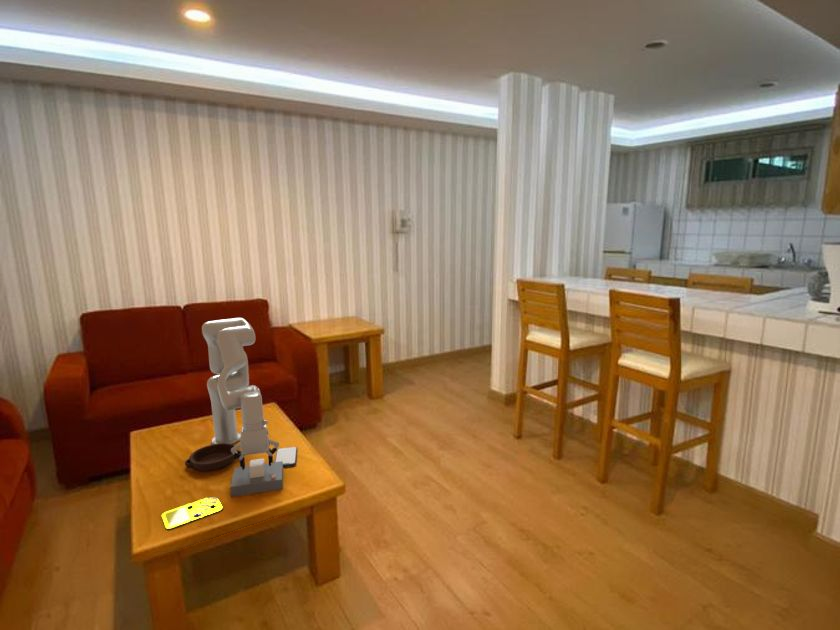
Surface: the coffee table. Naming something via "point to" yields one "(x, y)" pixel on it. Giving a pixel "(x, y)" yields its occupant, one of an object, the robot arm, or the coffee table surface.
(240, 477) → the socket
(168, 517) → the game console
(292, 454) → the smartphone
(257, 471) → the plug
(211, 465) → the dish
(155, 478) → the coffee table surface
